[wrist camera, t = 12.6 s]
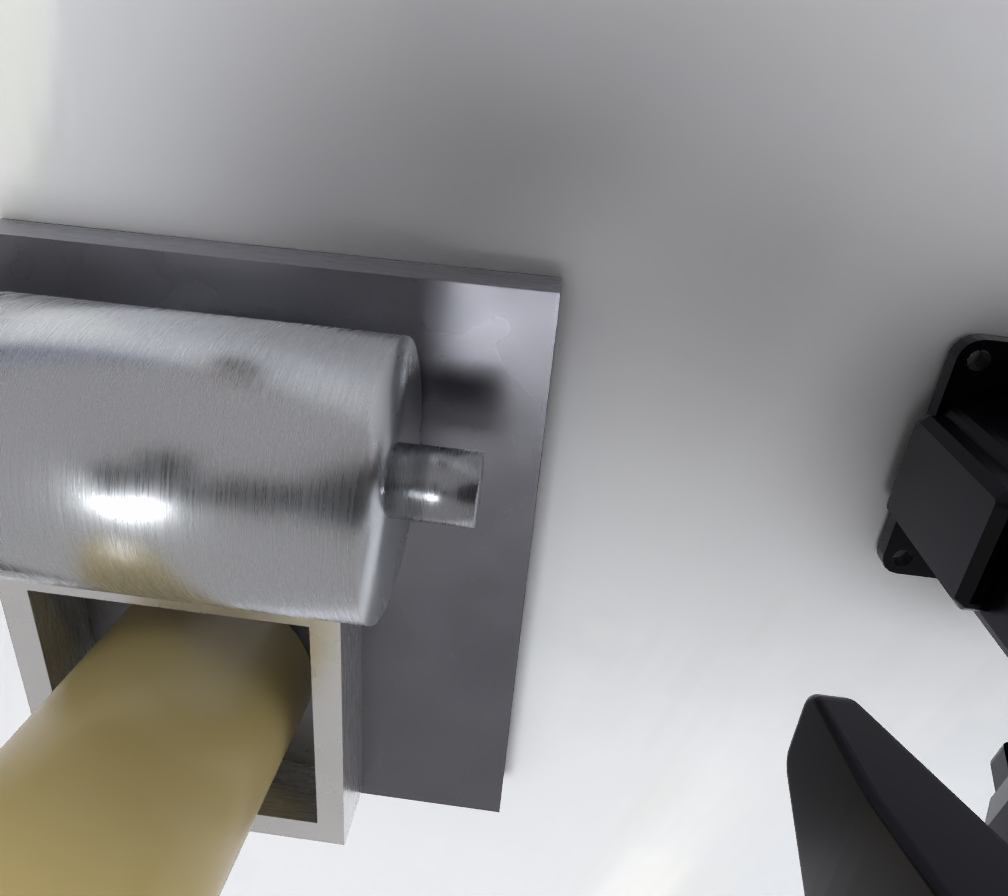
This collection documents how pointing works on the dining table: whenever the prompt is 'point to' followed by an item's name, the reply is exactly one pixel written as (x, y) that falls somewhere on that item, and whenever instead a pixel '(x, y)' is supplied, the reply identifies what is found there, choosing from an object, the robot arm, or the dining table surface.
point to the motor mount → (282, 484)
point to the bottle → (151, 757)
